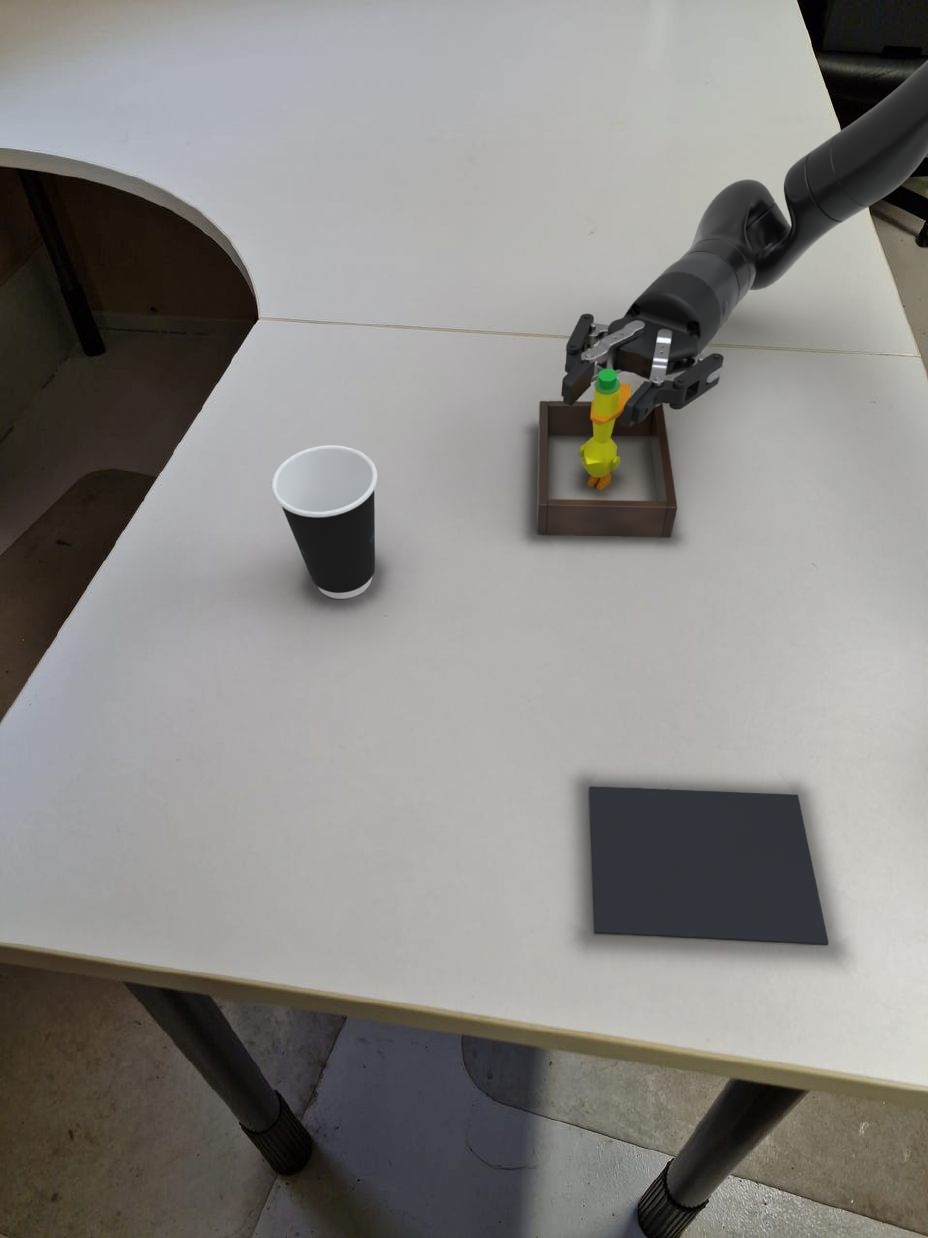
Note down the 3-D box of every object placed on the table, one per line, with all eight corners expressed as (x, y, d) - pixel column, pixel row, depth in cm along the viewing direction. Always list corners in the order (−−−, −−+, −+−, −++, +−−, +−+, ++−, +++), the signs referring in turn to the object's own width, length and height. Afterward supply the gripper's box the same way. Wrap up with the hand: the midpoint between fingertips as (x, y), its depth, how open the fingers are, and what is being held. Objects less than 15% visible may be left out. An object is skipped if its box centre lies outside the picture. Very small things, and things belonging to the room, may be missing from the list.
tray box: (657, 431, 84) (662, 401, 81) (671, 537, 74) (677, 507, 72) (538, 430, 84) (539, 400, 82) (536, 534, 75) (538, 504, 72)
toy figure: (599, 453, 82) (612, 342, 72) (633, 466, 80) (651, 354, 71) (566, 495, 78) (575, 383, 69) (601, 508, 77) (615, 396, 68)
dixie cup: (410, 572, 73) (399, 472, 64) (343, 628, 69) (322, 530, 60) (345, 531, 76) (326, 431, 68) (278, 582, 72) (248, 483, 64)
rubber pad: (796, 796, 58) (798, 794, 58) (827, 945, 52) (828, 943, 51) (589, 788, 59) (589, 786, 59) (594, 933, 53) (594, 931, 52)
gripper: (748, 368, 79) (669, 471, 70) (609, 324, 85) (520, 415, 76) (767, 292, 73) (684, 394, 65) (617, 251, 79) (522, 340, 70)
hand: (596, 405), depth 70 cm, fingers open, 5 cm apart
